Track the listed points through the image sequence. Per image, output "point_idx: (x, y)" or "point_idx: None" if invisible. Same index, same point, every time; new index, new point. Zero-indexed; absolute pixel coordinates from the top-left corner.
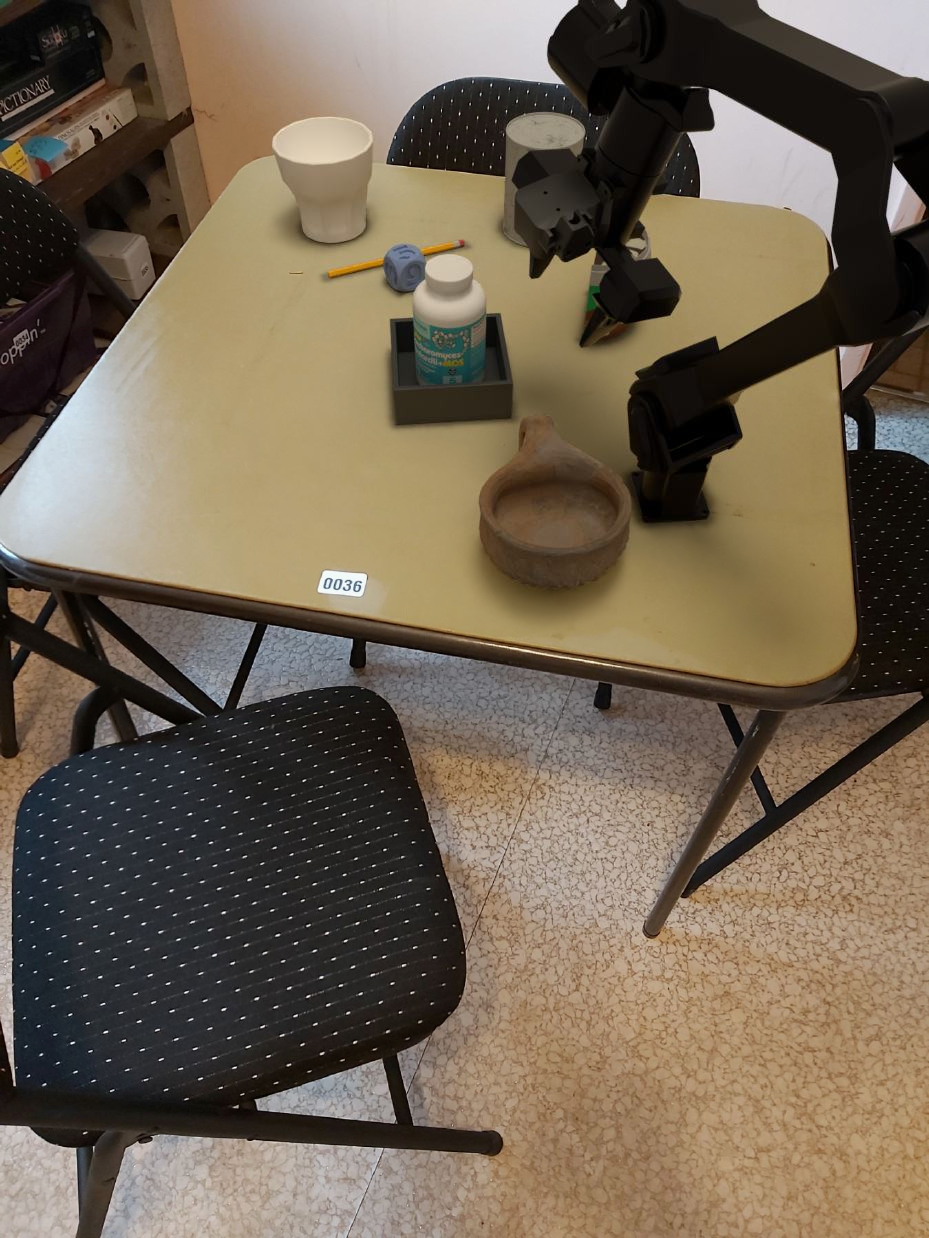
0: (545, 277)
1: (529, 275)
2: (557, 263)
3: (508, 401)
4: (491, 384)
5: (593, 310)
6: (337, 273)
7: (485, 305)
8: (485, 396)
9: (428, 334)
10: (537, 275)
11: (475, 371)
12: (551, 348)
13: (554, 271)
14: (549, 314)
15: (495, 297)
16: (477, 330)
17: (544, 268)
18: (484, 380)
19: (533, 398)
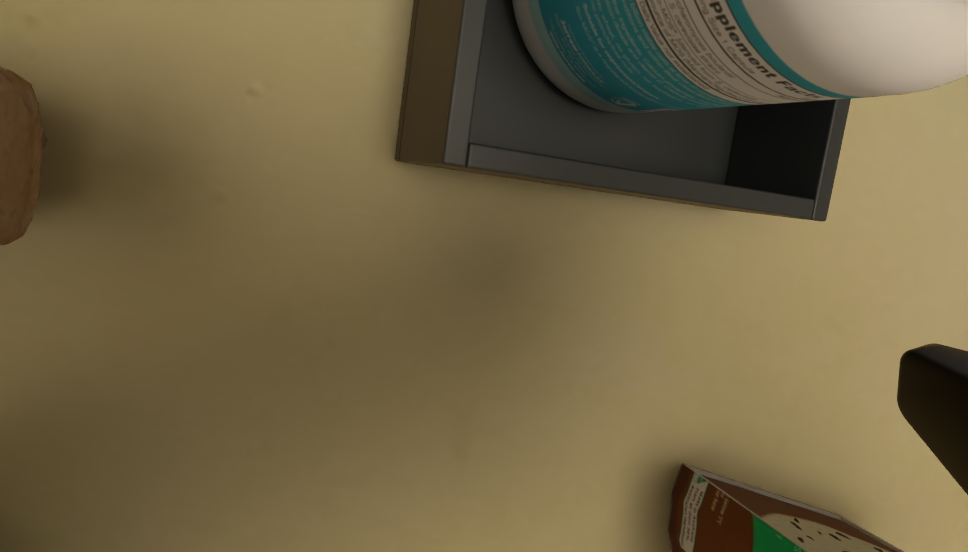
0: None
1: (935, 346)
2: None
3: (416, 146)
4: (457, 66)
5: (750, 540)
6: None
7: (823, 67)
8: (439, 47)
9: None
10: (919, 402)
11: (571, 38)
12: (679, 367)
13: None
14: (806, 388)
15: (907, 250)
16: (699, 13)
17: (960, 468)
18: (588, 113)
19: (476, 262)
